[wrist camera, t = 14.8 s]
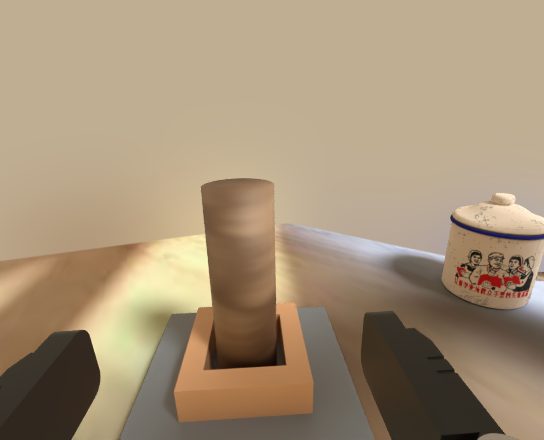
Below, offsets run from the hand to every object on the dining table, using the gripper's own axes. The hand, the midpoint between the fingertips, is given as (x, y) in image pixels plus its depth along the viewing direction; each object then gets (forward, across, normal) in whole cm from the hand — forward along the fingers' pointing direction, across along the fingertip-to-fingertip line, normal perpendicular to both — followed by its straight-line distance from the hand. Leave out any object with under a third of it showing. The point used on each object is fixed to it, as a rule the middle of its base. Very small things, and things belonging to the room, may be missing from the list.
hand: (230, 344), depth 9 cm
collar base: (+11, 0, +14) cm, 17 cm away
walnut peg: (+11, 0, +12) cm, 16 cm away
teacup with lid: (+22, -29, +14) cm, 39 cm away
